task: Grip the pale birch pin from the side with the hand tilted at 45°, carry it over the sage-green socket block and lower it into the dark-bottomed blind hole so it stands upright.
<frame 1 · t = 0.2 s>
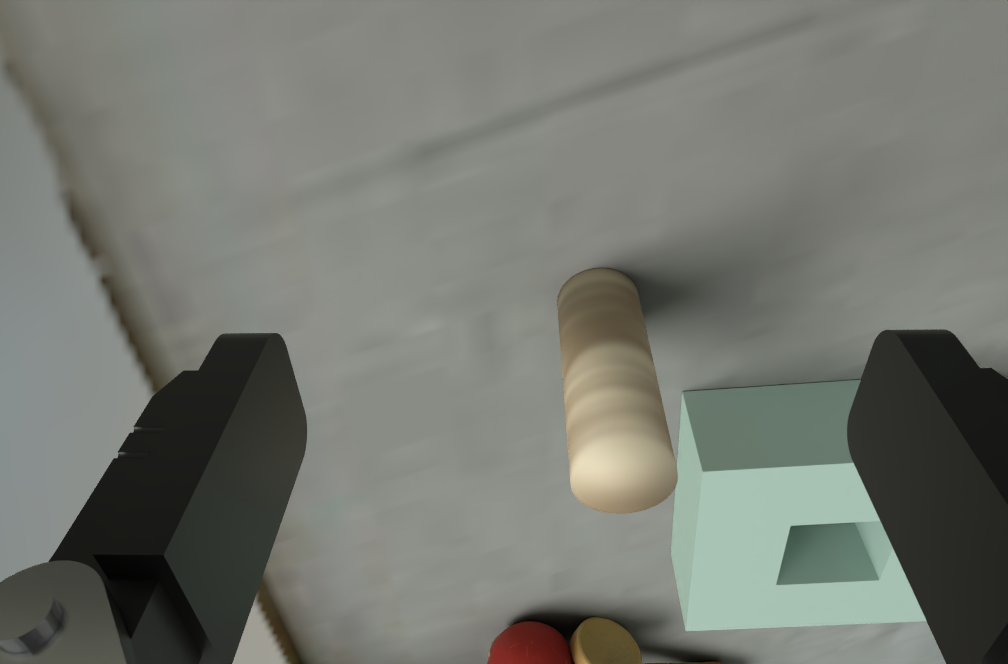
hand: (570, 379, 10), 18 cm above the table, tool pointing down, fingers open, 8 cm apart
pin: (597, 301, 32), on the table
socket block: (805, 474, 39), on the table
kendama: (609, 638, 52), on the table
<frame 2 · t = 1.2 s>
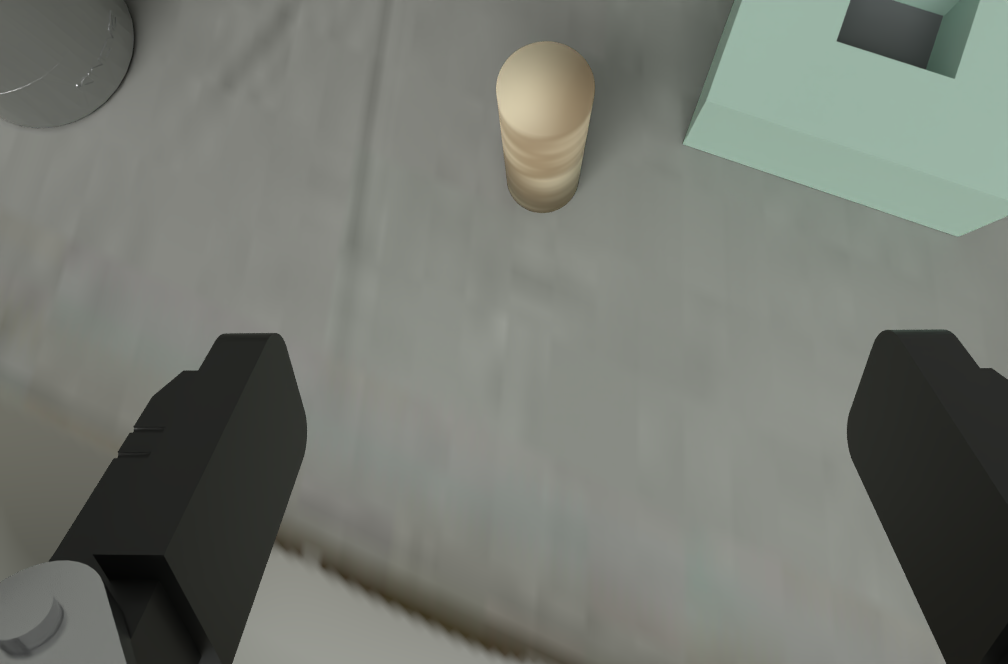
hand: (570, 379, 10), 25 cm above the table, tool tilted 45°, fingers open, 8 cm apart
pin: (542, 178, 36), on the table
socket block: (861, 62, 36), on the table
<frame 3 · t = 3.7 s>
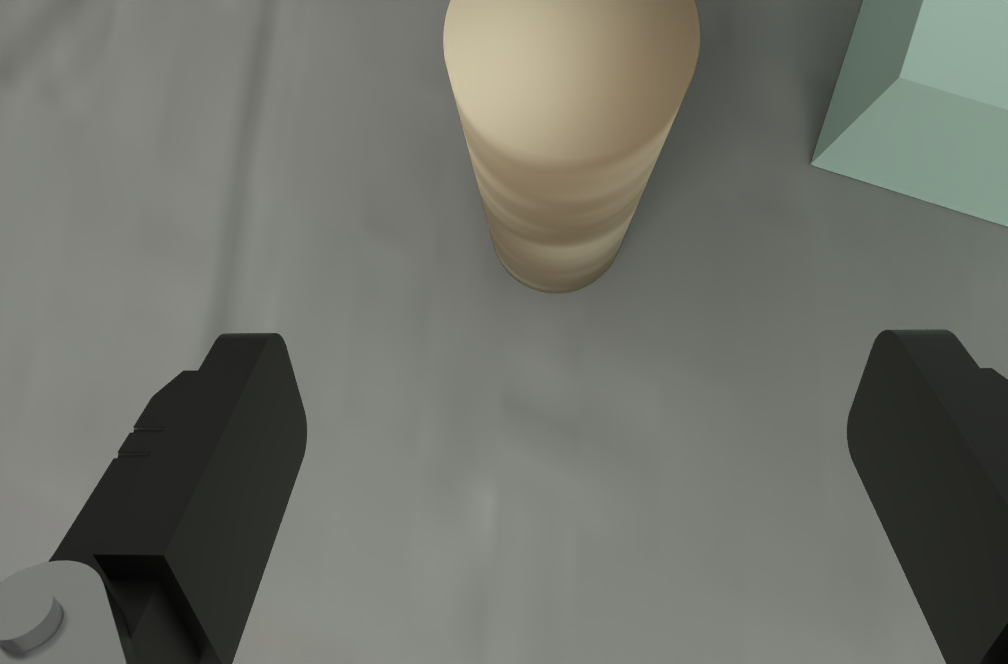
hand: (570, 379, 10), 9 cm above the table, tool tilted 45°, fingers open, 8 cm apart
pin: (556, 229, 20), on the table
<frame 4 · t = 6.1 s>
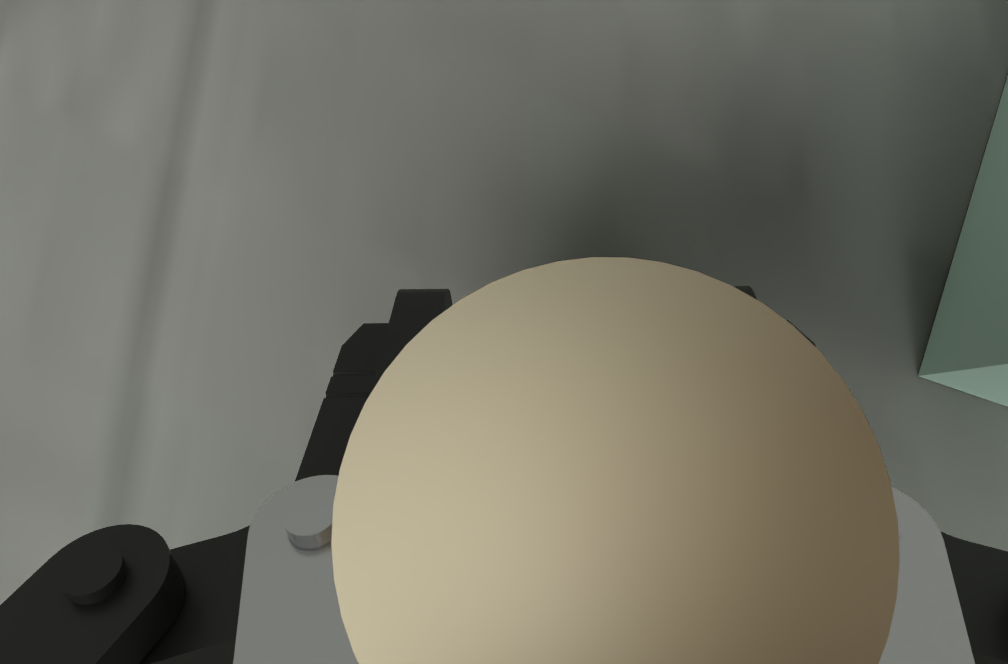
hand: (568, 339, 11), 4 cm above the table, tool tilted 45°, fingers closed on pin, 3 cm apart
pin: (563, 461, 14), on the table, touching gripper
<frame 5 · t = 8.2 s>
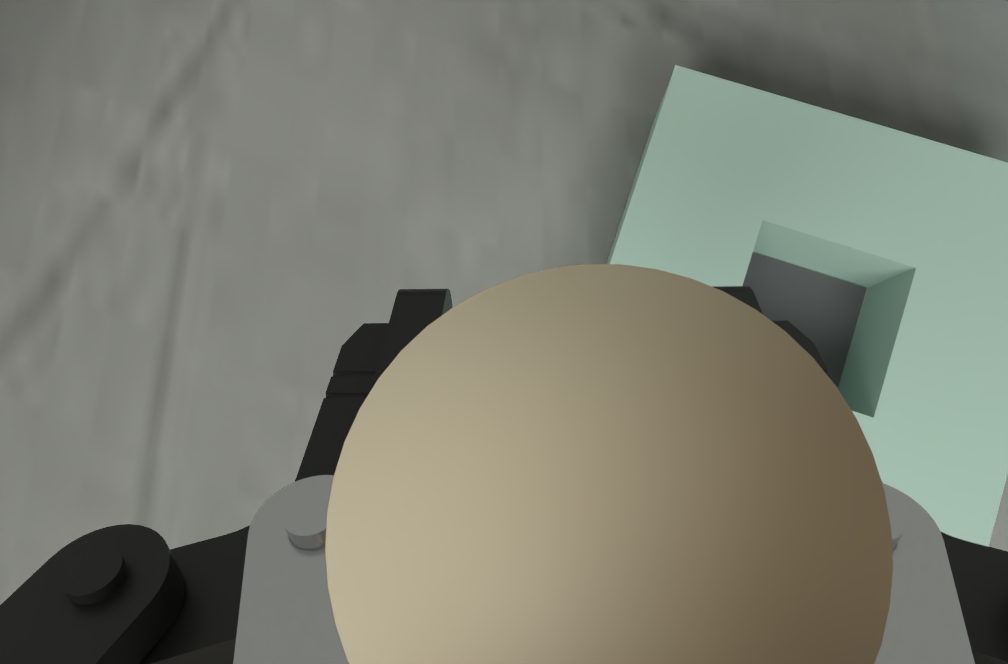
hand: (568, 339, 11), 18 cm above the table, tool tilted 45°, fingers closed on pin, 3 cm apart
pin: (562, 464, 14), point 14 cm above the table, touching gripper
socket block: (768, 335, 29), on the table
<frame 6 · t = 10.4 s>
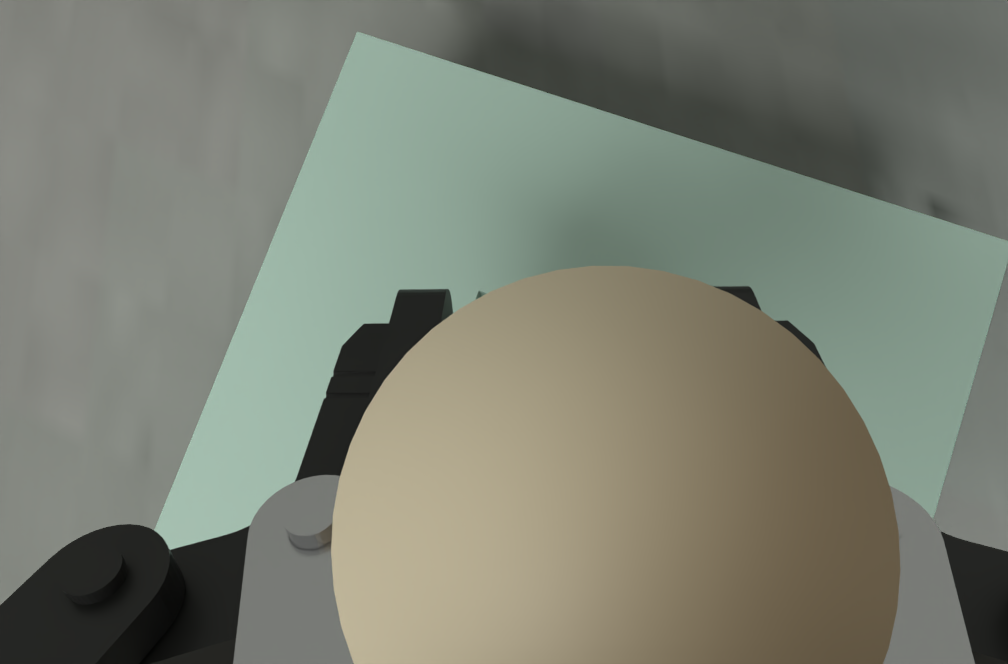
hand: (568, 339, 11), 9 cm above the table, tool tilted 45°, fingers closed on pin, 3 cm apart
pin: (564, 464, 14), point 5 cm above the table, touching gripper
socket block: (552, 449, 19), on the table
when the fingers open (7 cm above the table, at t = 11.1 s): pin drops 1 cm, resting on socket block.
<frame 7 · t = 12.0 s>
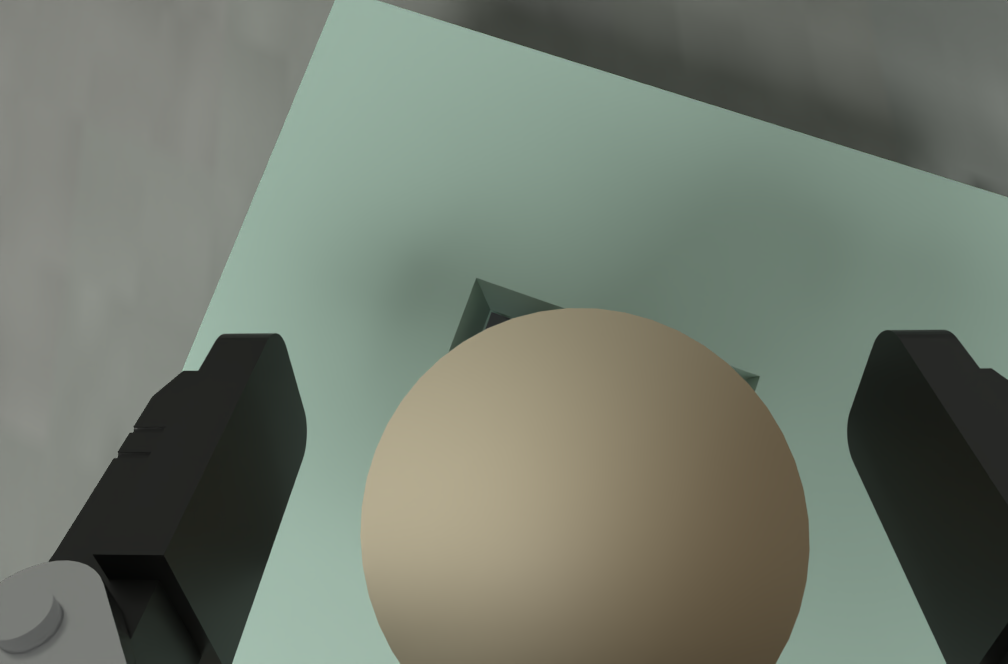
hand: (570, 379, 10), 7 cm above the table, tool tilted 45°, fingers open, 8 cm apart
pin: (558, 465, 16), point 2 cm above the table, touching socket block
socket block: (559, 456, 17), on the table
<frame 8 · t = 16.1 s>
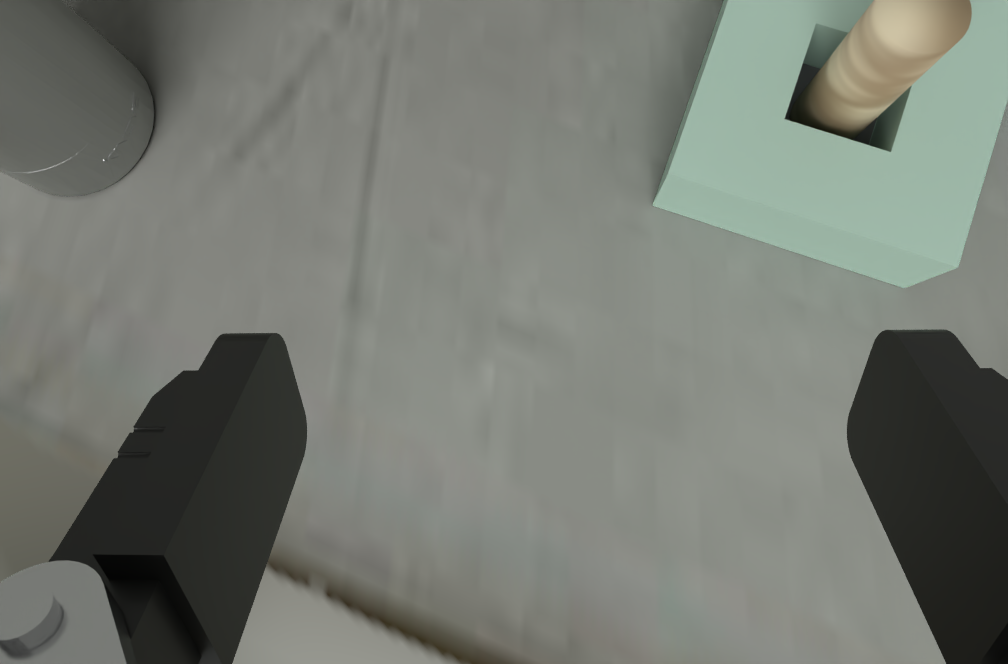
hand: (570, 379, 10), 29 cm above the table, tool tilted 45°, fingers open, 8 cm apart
pin: (824, 119, 38), point 2 cm above the table, touching socket block
socket block: (814, 129, 40), on the table
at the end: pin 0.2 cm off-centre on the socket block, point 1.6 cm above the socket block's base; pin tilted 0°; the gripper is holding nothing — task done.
